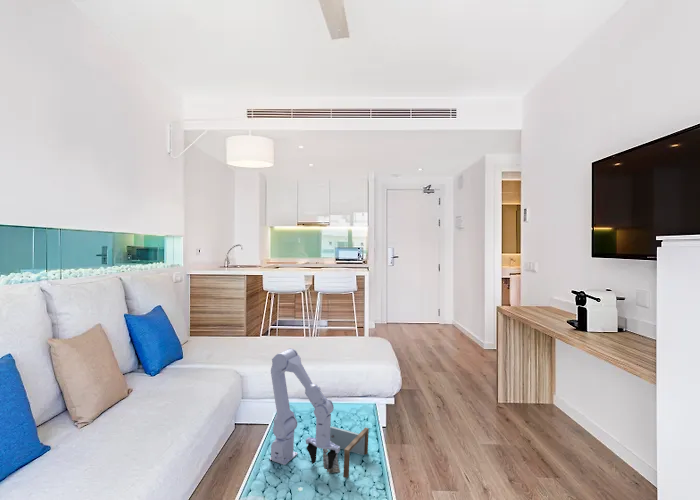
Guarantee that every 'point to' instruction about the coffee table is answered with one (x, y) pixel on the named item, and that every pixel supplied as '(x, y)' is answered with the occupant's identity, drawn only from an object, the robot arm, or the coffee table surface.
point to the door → (346, 439)
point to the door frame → (350, 447)
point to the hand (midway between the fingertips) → (322, 465)
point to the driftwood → (335, 464)
